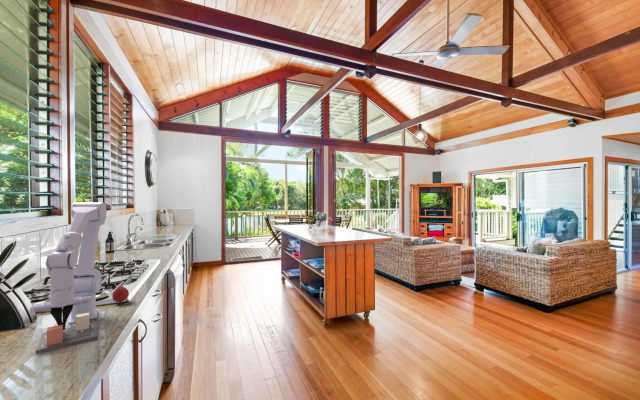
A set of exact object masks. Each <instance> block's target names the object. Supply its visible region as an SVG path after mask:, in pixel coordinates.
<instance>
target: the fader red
mask: <svg viewBox="0 0 640 400" xmlns="http://www.w3.org/2000/svg"><path fill="white" fill-rule="evenodd" d="M46 333H47V346H50V345H54V344H58V343H62V341H63V325H55V326H49V327H47V329H46Z"/></svg>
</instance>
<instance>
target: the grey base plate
mask: <svg viewBox="0 0 640 400" xmlns="http://www.w3.org/2000/svg"><path fill="white" fill-rule="evenodd" d="M97 340H98V321H95V322H89V328H88V329H84V330H79V331H76V325H75V326H71V327H67V328H66V327H65V330H63V341H62V343H58V344H54V345H50V346H47V332H43V333H41V336H40V339H39V340H38V344H37V346H36V349H35V355H39V354H43V353H48V352H52V351H56V350H62V349H64V348H68V347H73V346H77V345H80V344H86V343H90V342H93V341H97Z"/></svg>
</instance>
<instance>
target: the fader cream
mask: <svg viewBox="0 0 640 400" xmlns="http://www.w3.org/2000/svg"><path fill="white" fill-rule="evenodd" d="M89 323H90V319H89V313H83V314H78V315H76V322H75V326H76V331H79V330H84V329H88V328H89Z"/></svg>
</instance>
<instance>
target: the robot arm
mask: <svg viewBox="0 0 640 400" xmlns="http://www.w3.org/2000/svg"><path fill="white" fill-rule="evenodd" d="M107 211H108V210H107V206H106V203H104V202H102V201H100V202H79V201H75V202H73V203H72V204H71V205H70V215H71V218H72V221H71V223H70V226H69V229H68V232H65V233H64V234H63V235H62V236H61V237H60V239H59V242H58V243H57V246H56V248H55V250H54V251H53V252H51V253H49V254H48V255H47V257H46V262H45V267H46V269H47V274H48V276H49V277H50V278H49V279H50V283H49V284H50V285H49V291H50V293H49V294H50V295H49V296H50V297H49V298H50V301H47V302H42V303H38V304H31V306H30V307H29V308H30V309H29V314H36V313H38V312H42V311H49V310H50V311H49V312H50V315H51V316H52V318H54V320H55V322H56V324H57V325H56V326H58V325H63V330H65V329H66V324H67V322H68V324H74V323H75V324H76V315H78V314H83V313H89V320H93V319H97V318H98V309H97V308H96V305H97V304H96V302H97V301H96V300H97V299H96V297H97V296H96V295H97V293H98V292H99V291H100V289H101V287H102V283H103V282H102V272H101V271H100V270H99V269H97V268H95V258H96V252H97V246H98V239H99V238H98V237H99V233H100V228H101V226H102V225H104V224H105V222H106V218H107ZM76 266H77V267H76ZM68 318H69V319H68Z"/></svg>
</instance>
